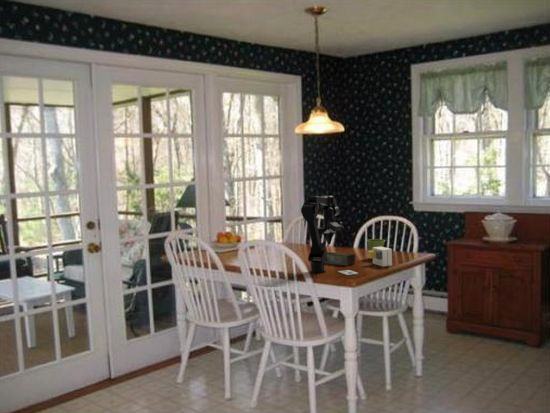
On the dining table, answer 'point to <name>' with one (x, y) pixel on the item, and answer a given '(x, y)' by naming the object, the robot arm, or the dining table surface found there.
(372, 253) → the amber button
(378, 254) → the charcoal button
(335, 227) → the robot arm
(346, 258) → the beverage carton
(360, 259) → the dining table surface
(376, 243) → the plant pot
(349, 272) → the card
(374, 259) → the console
